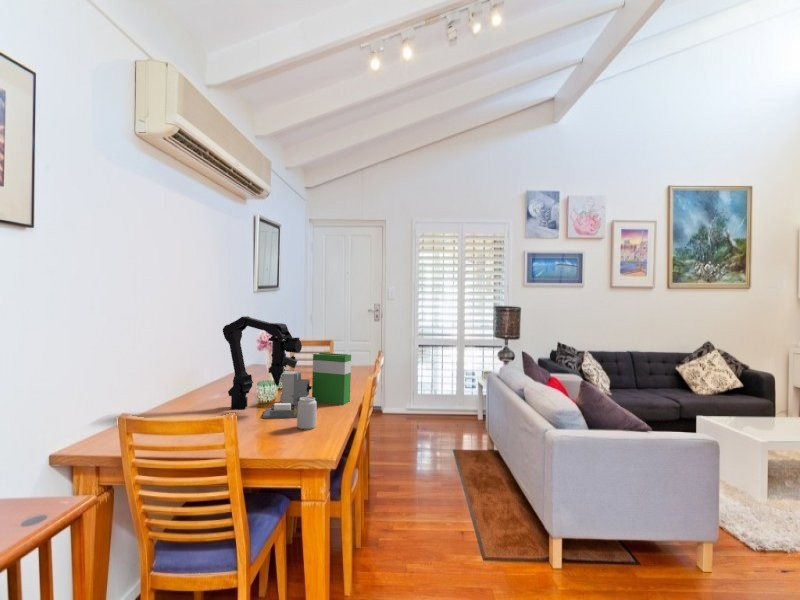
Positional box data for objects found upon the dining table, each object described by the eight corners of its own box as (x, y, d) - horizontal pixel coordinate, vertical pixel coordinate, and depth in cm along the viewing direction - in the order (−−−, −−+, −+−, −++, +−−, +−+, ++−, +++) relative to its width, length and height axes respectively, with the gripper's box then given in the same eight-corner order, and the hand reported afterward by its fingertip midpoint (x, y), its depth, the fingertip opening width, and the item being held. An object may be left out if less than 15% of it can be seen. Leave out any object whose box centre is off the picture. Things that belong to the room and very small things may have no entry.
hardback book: (311, 401, 227) (313, 354, 227) (318, 398, 234) (320, 352, 234) (343, 404, 221) (345, 356, 221) (349, 401, 229) (351, 354, 228)
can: (299, 431, 176) (300, 400, 176) (294, 426, 183) (295, 396, 183) (318, 429, 180) (319, 399, 180) (312, 424, 186) (313, 395, 186)
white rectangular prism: (273, 414, 196) (274, 404, 196) (274, 412, 199) (274, 403, 199) (290, 413, 197) (290, 404, 197) (290, 412, 200) (290, 403, 200)
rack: (262, 418, 193) (262, 411, 193) (265, 410, 206) (266, 404, 206) (300, 417, 196) (300, 410, 196) (301, 410, 209) (301, 403, 209)
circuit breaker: (309, 405, 219) (309, 374, 219) (279, 404, 219) (280, 373, 219) (312, 401, 226) (313, 372, 226) (284, 400, 227) (285, 371, 227)
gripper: (295, 354, 196) (294, 389, 196) (297, 349, 215) (296, 381, 215) (269, 353, 194) (267, 389, 194) (273, 348, 213) (272, 381, 213)
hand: (277, 385), depth 204 cm, fingers closed
